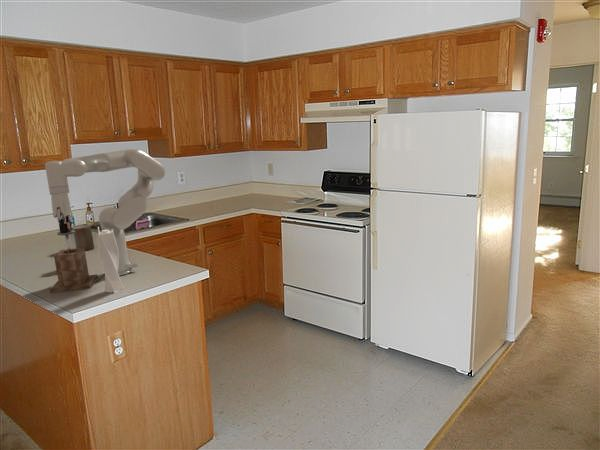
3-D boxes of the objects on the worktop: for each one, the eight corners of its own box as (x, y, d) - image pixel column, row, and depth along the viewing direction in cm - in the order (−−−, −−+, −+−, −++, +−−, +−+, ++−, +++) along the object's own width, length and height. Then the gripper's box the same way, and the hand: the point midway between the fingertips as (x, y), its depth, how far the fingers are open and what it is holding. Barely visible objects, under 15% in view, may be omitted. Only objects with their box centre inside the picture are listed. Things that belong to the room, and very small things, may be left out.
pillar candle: (97, 248, 269) (93, 223, 266) (81, 252, 261) (77, 226, 258) (88, 246, 275) (84, 222, 272) (73, 250, 267) (68, 225, 264)
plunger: (81, 259, 208) (75, 220, 204) (77, 263, 201) (71, 223, 197) (65, 261, 207) (58, 221, 203) (60, 265, 200) (53, 225, 196)
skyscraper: (100, 292, 194) (90, 228, 188) (112, 286, 201) (103, 224, 195) (114, 294, 192) (105, 229, 185) (127, 287, 198) (118, 224, 192)
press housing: (97, 277, 215) (92, 245, 211) (90, 288, 200) (84, 254, 197) (60, 281, 212) (55, 249, 208) (50, 292, 197) (44, 258, 194)
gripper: (55, 188, 204) (62, 228, 208) (43, 193, 188) (50, 236, 192) (73, 187, 206) (80, 226, 210) (62, 192, 189) (70, 235, 193)
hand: (66, 231), depth 201 cm, fingers open, 4 cm apart
